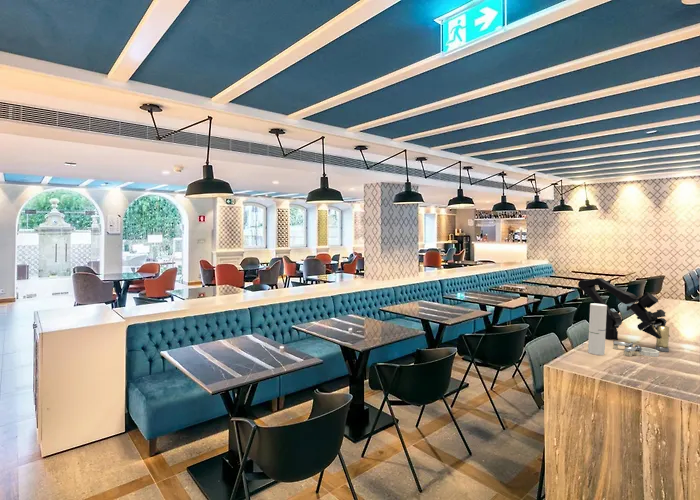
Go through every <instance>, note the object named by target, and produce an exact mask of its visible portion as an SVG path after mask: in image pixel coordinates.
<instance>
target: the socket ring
mask: <svg viewBox="0 0 700 500" xmlns="http://www.w3.org/2000/svg"><path fill="white" fill-rule="evenodd" d="M640 347H641V348H642V351H641V352H639V355H641V356H646V357H653V358H655V357H656V358H657V357H659V356H660V351H658V350H655V348H650V347H644V346H643V347H642V346H640Z"/></svg>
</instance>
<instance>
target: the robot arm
mask: <svg viewBox="0 0 700 500" xmlns="http://www.w3.org/2000/svg"><path fill="white" fill-rule="evenodd" d="M577 286H578V288H579V289H581V291H583V293H585V294H587V295H588V296H589V298H590V299H591V300H592V302H594V303H597V304H604V305H607V303H606V302H605V301H604V299H603V298H602V297H601V296H600V294H599V293H598V292H597V289H596V286H599V287H600V288H602V289H604V290H606V291H607V292H609V293H611V294H612V295H614V297H616V298H617V299H618V300H619V301H620V303H622V304H624V305H626V311H627V312H629V311H630V312H632V313H634V314H635V316H636V319H637V320H639V321H641V322H639V324H637V325H636V326H637V329H638V330H639V331H642V332H643V333H646V334H649V335H650V336H652V337H654V338H658V339H660V338H661V337H660V336H659V334H658V333H657V325H662V326H667V325H666V324H667V320H666V319H665V317H666V313H667V312H665V310H663V309H657V310H656V311H655V312H653V311H651V310H649V311H648V309H650V308H651V307H653V306H655V305H656V304H657V303H659V299H658V298H657V297H656V296H654V295H653V294H651V293H649V292H645V293H644V294H643V295H641V296H640V297H639V296H636V295H635V294H634V293H631V292H630V291H625V290H622V289H620V288H619V287H617V286H615V285H614V284H612V283H611V282H609V281H607V280H605V279H604V278H602V277H596V278H593V279H580V280H579V281H578V284H577ZM630 304H631V305H630ZM663 317H664V318H663ZM622 324H623V317H622V316H621V315H620V314H619V312H618V311H613V310H612V309H611V308H610V307H609V306H608V305H607V314H606V334H605V340H613V341H618V340H619V339H618V337H619V331H618V329H619V327H620V326H621V325H622ZM669 337H671V336H670V334H669Z"/></svg>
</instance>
